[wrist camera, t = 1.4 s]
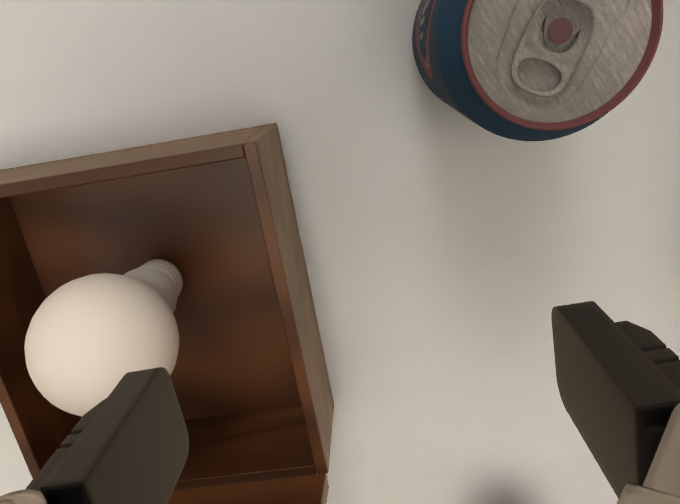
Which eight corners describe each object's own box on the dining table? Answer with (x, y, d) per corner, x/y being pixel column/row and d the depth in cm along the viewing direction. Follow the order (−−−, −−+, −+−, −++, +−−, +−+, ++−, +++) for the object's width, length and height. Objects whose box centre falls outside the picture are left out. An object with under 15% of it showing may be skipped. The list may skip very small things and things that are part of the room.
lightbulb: (212, 333, 33) (145, 462, 23) (108, 313, 33) (-8, 434, 23) (225, 234, 31) (158, 328, 21) (114, 212, 31) (-11, 295, 21)
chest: (-5, 170, 31) (-88, 199, 25) (276, 122, 30) (255, 141, 24) (93, 433, 37) (43, 505, 31) (334, 404, 35) (328, 473, 30)
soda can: (445, -67, 27) (505, -150, 15) (581, -10, 27) (736, -50, 16) (388, 80, 29) (404, 102, 18) (515, 130, 29) (609, 182, 18)
